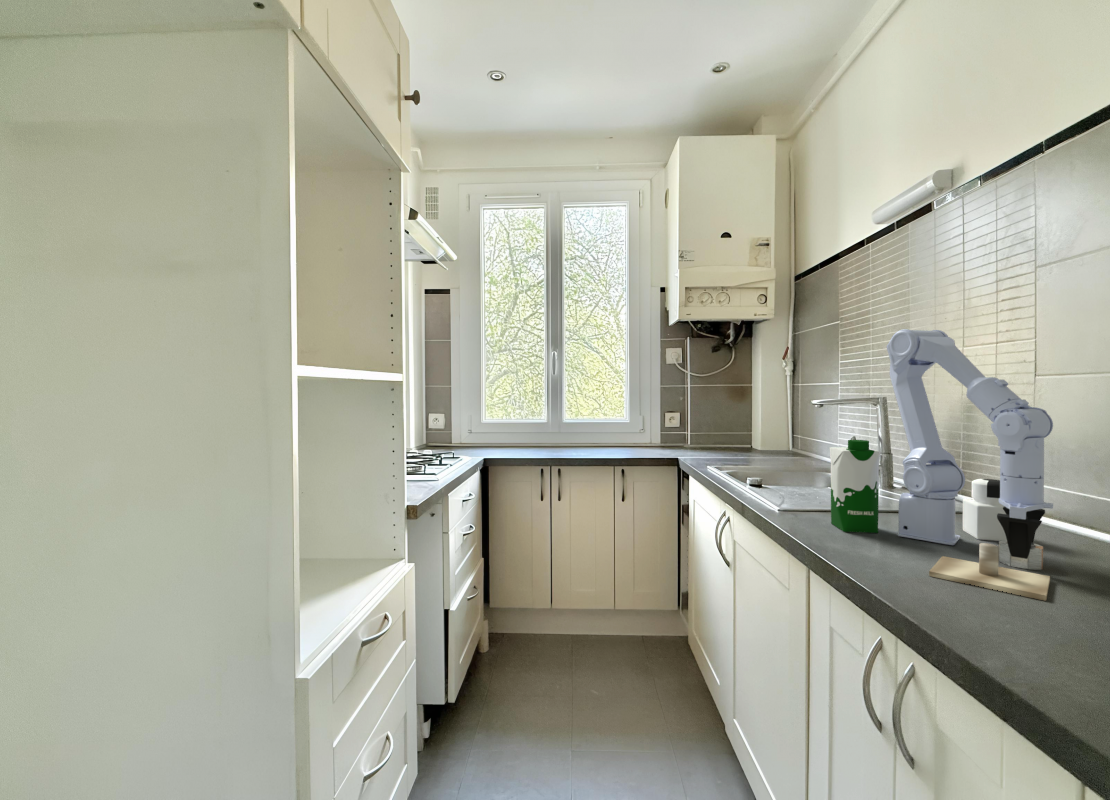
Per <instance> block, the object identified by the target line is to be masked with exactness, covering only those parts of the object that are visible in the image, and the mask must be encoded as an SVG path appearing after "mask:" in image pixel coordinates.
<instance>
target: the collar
mask: <svg viewBox="0 0 1110 800" xmlns="http://www.w3.org/2000/svg"><path fill="white" fill-rule="evenodd" d="M998 542H999V543H998V546H999V563H1001V564H1004V565H1006V566H1009V567H1013V568H1019V569H1024V570H1029V571H1030V570H1043V567H1044V546H1043V545H1040V544H1038V543H1034V542H1033V543H1032V544H1031V549H1030V553H1029V556H1028V558H1027V559H1024V558H1018V557H1013V556H1011V554H1010V551H1009V547H1008V543H1007V540H1000V541H998Z"/></svg>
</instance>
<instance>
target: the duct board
mask: <svg viewBox="0 0 1110 800" xmlns="http://www.w3.org/2000/svg"><path fill="white" fill-rule="evenodd" d="M978 549H979V551H978V553H979V554H978V555H979V556H978V557H979V558H978V562H976V561H971V560H966V559H960V558H955V557H950V556H945V555H944V556H943V555H941V557H940V558H939V559H938V560H937V562H935V564H934V565H933V566H932V567H931V568H930V569H929V571H928V576H929V577H933V578H937V579H942V580H947V581H951V582H956V583H961V584H964V583H965V585H969V584H971V585H970V586H974V585H975V586H974V587H978V586H979V588H983V587H984V589H988V590H992V589H993V591H997V590H998V591H999V592H1002V591H1003V592H1002V593H1006V592H1007V593H1008V594H1011V593H1012V595H1017V596H1020V595H1021V597H1024V598H1025V597H1026V598H1030V599H1036V600H1040V601H1045V602H1046V601H1047V598H1048V595H1049V594H1048V593H1049V588H1050V584H1051V576H1050V575H1046V574H1039V573H1035V572H1029V571H1024V570H1019V569H1015V568H1008V567H1002V566H999V563H1000V562H999V545H997V544H993V543H987V542H981V543H979V548H978Z"/></svg>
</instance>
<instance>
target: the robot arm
mask: <svg viewBox="0 0 1110 800" xmlns="http://www.w3.org/2000/svg"><path fill="white" fill-rule="evenodd" d="M886 351H887V353H888V354H887V355H888V357H889V360H890V361H889V362H890V364H889V378H890V380H891V385H892V389H893V392H894V396H895V399H896V403H897V407H898V411H899V413H900V417H901V420H902V421H901V422H902V425H903V428H904V432H905V435H906V439H907V443H908V447H909V450H910V452H909V454H908V455H907V456H906V457H905V458H904V459H903V460H902V465H903V475H902V481H903V484H904V486H905V488H906V489H907V490H908V491H909V492H902V493H900V496H899V500H898V533H897V536H898V537H902V538H908V539H913V540H914V539H915V540H920V541H924V542H925V541H926V542H932V543H936V544H941V545H949V546H954V545H956V544H957V542H958V541H959V540H960V539H961V535H958V534H956V497H957V498H958V496H959V495H958V493H959V492H960V491H962V489H963V488H964V486H965V484H966V476H965V473H964V471H963V470H962V469H961V468H960V467H959V465H958V463H957V461H956V459H955V456H954V455H953V454H951V452H949V451H947V450H946V449H945V448H944V447H943V446H942V443H941V438H940V435H939V432H938V428H937V426H936V423H935V419H934V415H933V412H932V408H931V405H930V401H929V399H928V396H927V391H926V388H925V385H924V381H923V378H922V377H923V376H924V374H925V373H926V372H927V371H928V370H930V368H931V367H933V366H934V365H936V364H937V365H939V366H940V367H941V368H942V369H944V370H945V371H946V372H947V373H949V374H950V375H951V376H952V377H953V378H955V379H956V380H957V381H958V382H959V383H960V384H961V385H963V386H964V387H965V388H966V398H967V399H968V400H969V401H970V402H971V403H972V404H973V405H974V406H975V407H976V408H977V409H978V410H980V412H981V413H982V414H983V415H984V416H985V417H987V419H988V420H990V421H991V422H992V423H991V424H990V428H991V431H992V433H993V434H994V436H995V437H996V438H997V441H998V445H997V446H998V447H999V449H1000V450H999V452H1000V453H999V457H1000V459H999V480H1000V498H999V503H1000V504H1001V505H1003V506H1004V507H1003V510H1004V511H1005V513H1006V514H1000V513H998V514H997V519H998V521H999V522H1000V524H1001V526H1002V527H1003V530H1004V532H1005V535H1006V539H1007V543H1008V547H1009V551H1010V554H1011V556H1013V557H1018V558H1024V559H1027V558H1028V556H1029V553H1030V549H1031V544H1032V543H1034V542H1035V541H1034V540H1035V536H1036V532H1037V530H1038V528H1039V527H1040V526H1041V524H1042V522H1043V520H1041V519H1042V518H1043V516H1044V515H1045V514H1046V510H1045V509H1050V510H1051V509H1054V503H1052V502H1046V501H1045V438H1047V437H1049V435H1051V433H1052V431H1053V428H1054V421H1053V419H1052V418H1051V415H1049V414H1048V412H1047V410H1045V409H1043V408H1041V407H1035V406H1034V407H1033V406H1030V405H1029V404H1030V403H1029V402H1028V401H1027V400H1026V399H1022V398H1021V397H1019V396H1018V395H1017V394H1016V393H1015V392H1014V391H1013V390H1011V389H1010V388H1009V387H1008V385H1009V382H1008V381H1006V380H1005V379H999V378H998V377H993V376H989V377H988V376H987V377H986V376H985V375H984V373H982V372H981V370H980V369H978V368H977V367H976V365H975V364H973V363H972V361H971V360H970V359H969V358H968V357H967V356H966V355H965V354H964V353H963V352H962V351H961V350H960V349H959V348H958V347H957V346H956V341H955V340H954V338H952V337H950V336H949V335H948V334H947V333H946V332H945V331H943V330H940V329H933V330H929V329H928V330H927V329H925V330H924V329H923V330H921V329H920V330H919V329H915V330H914V329H907V328H904V329H900V330H898V331H896V332H895V333H894V334H893V335H892V336H891V338H890V340H889V342H888V343H887V344H886Z"/></svg>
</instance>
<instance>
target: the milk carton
mask: <svg viewBox="0 0 1110 800" xmlns="http://www.w3.org/2000/svg"><path fill="white" fill-rule="evenodd" d="M829 455H830V456H829V457H830V524H831V525H832V526H834V527H836V528H838V529H839V530H840V531H842V532H843V533H870V534H871V533H872V534H874V533H875V534H878V533H879V502H880V501H879V495H880V494H879V491H880V490H879V485H880V483H879V482H880V478H879V477H880V476H879V475H880V472H879V470H880V469H879V468H880V458H881V450H877V449H873V448H870V441H869V440H867V439H865V440H864V439H849V440H847V447H846V446H845V447H842V446H840V447H839V446H838V447H837V446H836V447H835V446H831V447H830V446H829Z"/></svg>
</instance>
